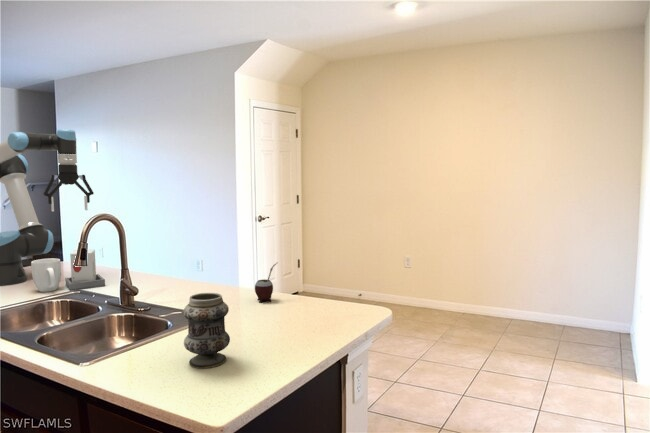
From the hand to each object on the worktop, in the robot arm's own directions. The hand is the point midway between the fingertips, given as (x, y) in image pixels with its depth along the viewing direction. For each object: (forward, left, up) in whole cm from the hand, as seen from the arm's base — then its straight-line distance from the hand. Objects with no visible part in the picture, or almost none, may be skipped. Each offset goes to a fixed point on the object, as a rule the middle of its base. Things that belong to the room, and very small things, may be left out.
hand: (69, 210), depth 221 cm
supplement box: (+10, +3, -33) cm, 35 cm away
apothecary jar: (+126, +15, -34) cm, 131 cm away
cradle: (+10, +3, -33) cm, 35 cm away
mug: (+11, -11, -34) cm, 37 cm away
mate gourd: (+82, +56, -34) cm, 105 cm away
